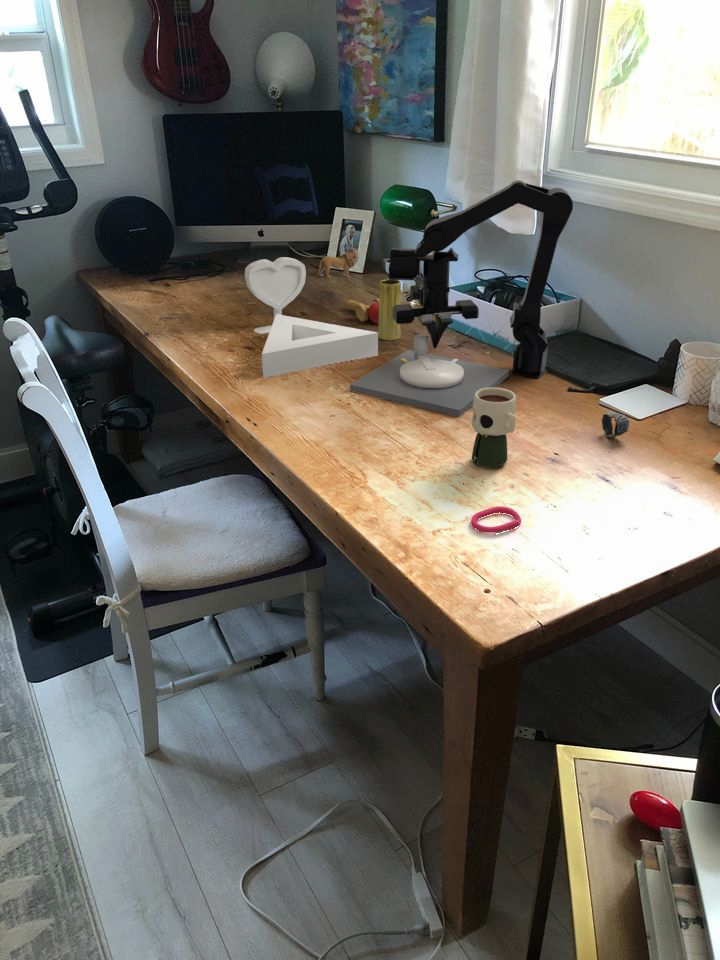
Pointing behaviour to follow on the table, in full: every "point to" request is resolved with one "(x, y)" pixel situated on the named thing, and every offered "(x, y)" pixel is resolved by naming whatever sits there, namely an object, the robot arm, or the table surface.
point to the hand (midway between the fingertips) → (434, 348)
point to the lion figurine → (339, 262)
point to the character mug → (492, 425)
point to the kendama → (365, 310)
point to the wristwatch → (620, 426)
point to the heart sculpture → (275, 283)
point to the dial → (429, 369)
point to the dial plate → (441, 400)
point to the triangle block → (313, 345)
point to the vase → (389, 309)
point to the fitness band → (497, 528)
